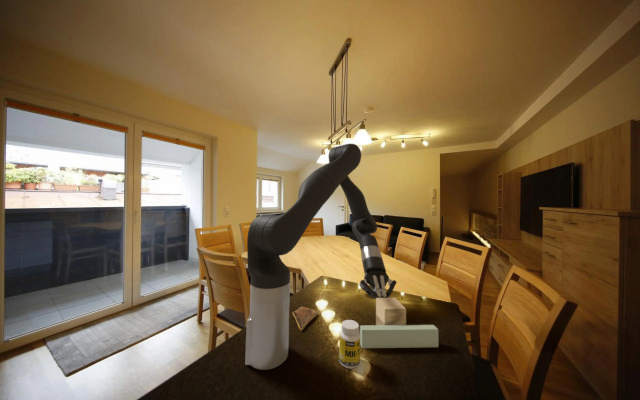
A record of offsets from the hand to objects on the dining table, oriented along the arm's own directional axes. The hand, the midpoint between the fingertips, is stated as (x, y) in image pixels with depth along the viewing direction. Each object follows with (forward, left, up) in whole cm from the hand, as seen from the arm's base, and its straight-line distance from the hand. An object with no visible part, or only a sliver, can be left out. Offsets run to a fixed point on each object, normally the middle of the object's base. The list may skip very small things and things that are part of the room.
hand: (384, 310), depth 63 cm
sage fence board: (0, -10, -4) cm, 11 cm away
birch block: (0, -4, -4) cm, 6 cm away
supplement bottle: (-14, -15, -4) cm, 21 cm away
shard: (-24, +3, -4) cm, 24 cm away
